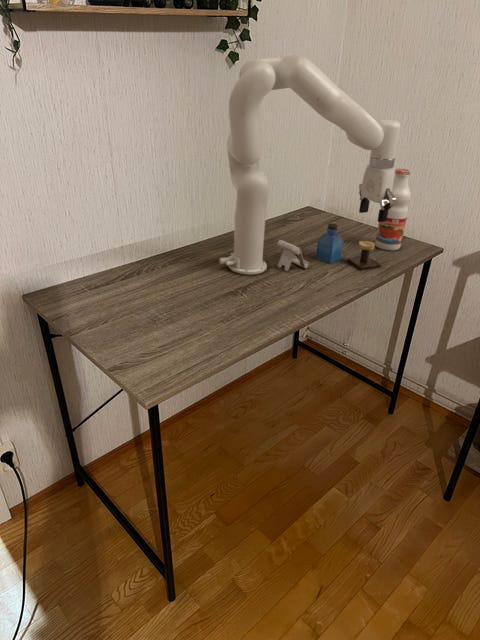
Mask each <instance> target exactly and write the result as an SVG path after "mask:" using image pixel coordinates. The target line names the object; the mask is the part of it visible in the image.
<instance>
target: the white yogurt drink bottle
mask: <svg viewBox="0 0 480 640" xmlns="http://www.w3.org/2000/svg"><path fill="white" fill-rule="evenodd" d="M410 173H411V171H410V170H409V169H406V168H396V169H395V171H394V176H393V187H392V194H393V195H394V197H395V198H396V201H395V202H394V204H393V206H392V207H391V208H390V209H389V210H388V216H387V221H384V222H378V224H377V230H376V234H375V240H374V244H375V247H377V248H378V249H380V250H384V251H397V250H400V248H401V247H402V243H403V242H402V241H403V236H404V234H405V233H404V232H405V228H406V223H407V220H408V215H409V203H410V201H411V199H412V192H411V190H410V183H409V177H410ZM384 205H385V203H384Z"/></svg>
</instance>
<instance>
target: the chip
mask: <svg viewBox="0 0 480 640" xmlns="http://www.w3.org/2000/svg"><path fill="white" fill-rule="evenodd" d="M357 246H358V249H360V250H362V249H363V250H370V251H373V250H375V247H376V245H375V242H373V241H369V240H360V241H359V242H358V245H357Z"/></svg>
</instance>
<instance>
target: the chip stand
mask: <svg viewBox="0 0 480 640" xmlns="http://www.w3.org/2000/svg"><path fill="white" fill-rule="evenodd" d="M370 252H371V250H363V249H361V252H360V256H353V257H347V258H346V262H348V263H349V264H351V265H352V266H354V267H355V268H357V269H358V270H360V271H363V270H369V269H375V268H380V267H381V264H380V263H379V262H377V261H376V260H374V259H373V258H371V257H370Z"/></svg>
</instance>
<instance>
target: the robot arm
mask: <svg viewBox="0 0 480 640" xmlns="http://www.w3.org/2000/svg"><path fill="white" fill-rule="evenodd" d="M238 72H239V73H238V79H237V80H236V82H235V84H234V86H233V88H232V90H231V92H230V95H229V100H228V116H229V117H228V118H229V128H230V133H228V136H227V140H226V150H227V158H228V159H227V160H228V165H229V172H230V178H231V183H232V185H233V188H234V189H235V191H236V201H235V209H234V210H235V211H234V231H233V232H234V233H233V234H234V236H233V252H230V255H228V256H227V257H220V258H219V259H218V261H219V264H220V265H224V264H225V265H226V267H228V268H229V270H230V271H232V272H234V273H236V274H240V275H246V276H247V275H249V276H251V275H253V276H254V275H259V274H261V273H264V272H265V271H266V270H267V268H268V264H267V263H266V261H265V260H263V259H264V245H265V230H266V217H267V216H266V215H267V206H268V201H269V197H270V196H269V195H270V182H269V180H268V178H267V176H266V175H265V173H264V172H263V171H262V170H261V166H260V160H261V159H262V156H263V151H264V146H263V139H262V130H261V121H260V120H261V119H260V117H261V116H260V108H261V104H262V101H263V100H264V98H265V96H267V95H268V94H269V93H270V92H271V91H275V90H276V91H277V90H283V89H291V90H292V91H293V92H294V93H295V94H296V95H297V96H298V97H299V98H301V99H302V100H303V101H304V102H305V103H306V104H308V105H309V107H310V108H312V109H313V110H314V111H315V112H316V113H317V114H318V115H320V116H321V118H324V120H327V121H328V122H330V123H332V124H333V125H335V126H336V127H338V128H340V130H342V131H343V132H345V136H346V138H347V140H348V141H349V142H350V143H352V144H353V145H355V146H357V147H359V148H361V149H362V150H366V151H370V153H369V161H368V164H367V166H366V168H365V172H364V174H363V176H362V177H363V178H362V182H361V183H359V184H358V190H359V192H358V195H359V200H360V203H359V211H358V212H359V214H365V213H368V212H369V208H370V203H371V202H373V203H377V204H378V203H379V207H380V209H379V211H378V216H377V222H378V223H379V222H384V221H387V216H388V210H389V209H390V208H391V207H392V206H393V204H394V202H395V201H396V198H395V197H394V195H393V194H392V187H393V179H394V176H395V171H394V167H395V161H396V155H397V150H398V145H399V139H400V134H401V126H402V125H401V122H399V121H398V120H396V119H395V120H394V119H379V120H377V119H374V118H373V117H372V116H371V114H369V113H368V112H367V111H366V110H365V109H364V108H363V107H362V106H361V105H359V104H358V103H357V102H356V101H354V100H353V98H351V97H350V96H349V95H348V94H347V93H346V92H344V91H343V90H342V89H341V88H340V87H339V86H337V84H335V83H334V81H333V80H331V79H330V78H329V77H328V76H327V75H326V74H325V73H324V72H323V71H322V70H321V69H320V68H319V67H318V66H316V64H315V63H314V62H313V61H311V60H310V59H309V58H308V57H306V56H302V55H294V54H293V55H285V56H278V57H267V58H254V59H250V60H248V61H246V62H245V63H243V65H242V66H241V68H240V69H239V71H238ZM370 201H371V202H370ZM384 203H385V205H384Z"/></svg>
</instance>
